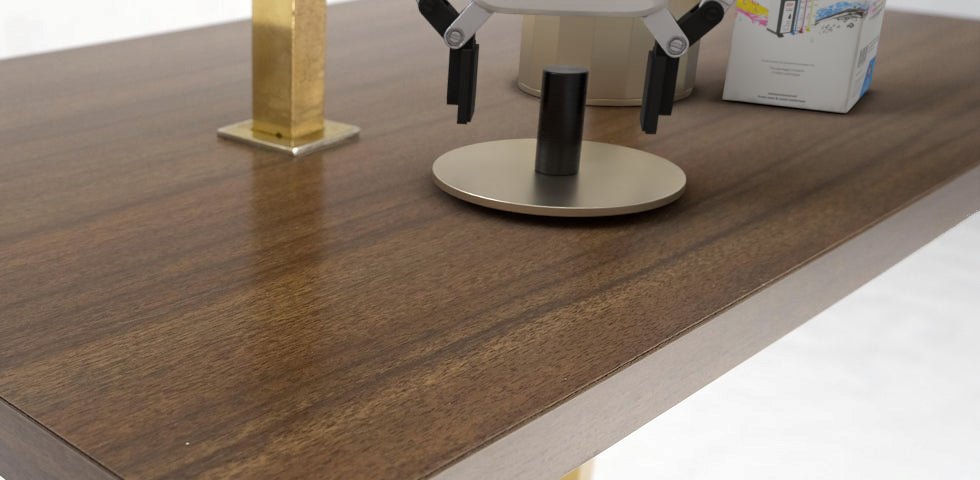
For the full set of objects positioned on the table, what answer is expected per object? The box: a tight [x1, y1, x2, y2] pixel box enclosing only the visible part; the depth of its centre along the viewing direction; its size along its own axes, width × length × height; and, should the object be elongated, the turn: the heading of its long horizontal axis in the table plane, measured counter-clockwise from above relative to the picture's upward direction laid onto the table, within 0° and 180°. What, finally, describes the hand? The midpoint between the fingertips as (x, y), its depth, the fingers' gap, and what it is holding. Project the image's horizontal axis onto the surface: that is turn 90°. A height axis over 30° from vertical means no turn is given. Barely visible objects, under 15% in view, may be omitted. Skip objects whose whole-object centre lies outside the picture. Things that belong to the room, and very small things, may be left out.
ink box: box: [721, 0, 887, 114], centre depth 82 cm, size 9×8×12 cm
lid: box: [431, 65, 687, 218], centre depth 63 cm, size 14×14×7 cm
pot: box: [517, 0, 702, 107], centre depth 86 cm, size 13×18×8 cm
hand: (555, 123), depth 63 cm, fingers open, 9 cm apart
